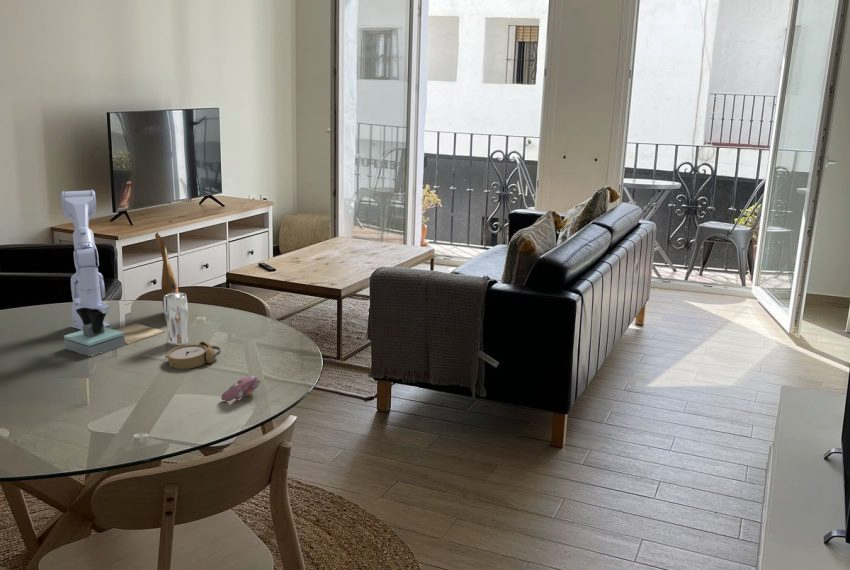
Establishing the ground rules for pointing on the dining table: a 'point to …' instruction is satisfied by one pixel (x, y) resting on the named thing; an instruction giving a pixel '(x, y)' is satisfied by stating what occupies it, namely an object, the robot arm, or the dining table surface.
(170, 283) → the pancake mix bag
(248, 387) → the video game controller
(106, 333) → the lid
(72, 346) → the grey square slab
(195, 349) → the alarm clock
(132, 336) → the cork pad
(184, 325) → the beer glass
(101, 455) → the dining table surface
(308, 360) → the dining table surface
